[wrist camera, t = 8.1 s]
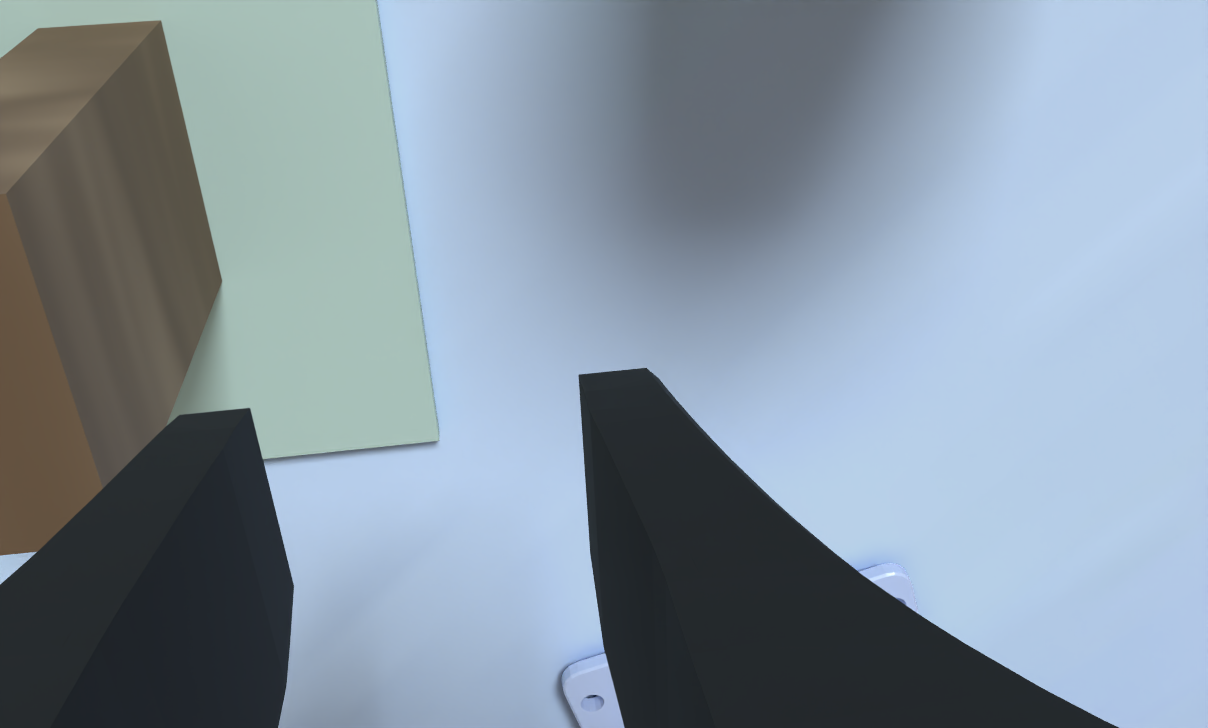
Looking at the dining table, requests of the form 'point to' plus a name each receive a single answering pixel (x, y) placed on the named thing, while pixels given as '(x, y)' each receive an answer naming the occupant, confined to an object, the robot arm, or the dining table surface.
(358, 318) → the mat
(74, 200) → the domino
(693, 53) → the dining table surface
